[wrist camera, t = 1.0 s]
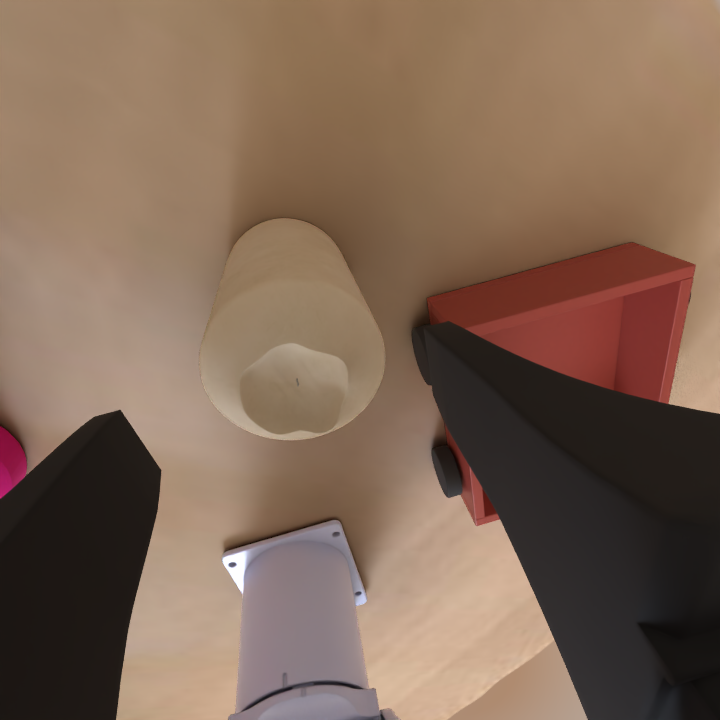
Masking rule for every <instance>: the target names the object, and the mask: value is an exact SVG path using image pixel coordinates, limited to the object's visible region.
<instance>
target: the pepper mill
mask: <svg viewBox="0 0 720 720" xmlns="http://www.w3.org/2000/svg"><path fill="white" fill-rule="evenodd" d="M26 469H27V462H26V457H25V453H24V451H23V449H22V448H21V446H20V444H19V442H18V441H17V440H16V439H15V438H14V437H13V436H12V435H11V434H10V433H9V432H8V431H7V430H6V429H4V428H3V427H1V426H0V499H1V498H2V497H3V496H4V495H5V494H6V493H8V492H9V491H10V490H11V489H12V488H13V487H14V486H16V485H17V484H18V483H19V482H20V481H21V480H22V479H23V478H24V477H25V475H26Z"/></svg>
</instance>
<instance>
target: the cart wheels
mask: <svg viewBox="0 0 720 720" xmlns="http://www.w3.org/2000/svg"><path fill="white" fill-rule="evenodd" d="M690 297H691V293H690ZM689 302H690V298H689ZM688 304H689V303H688ZM428 326H431V324H427V325H423V326H420V327H416V328H413V330H412V342H413V348H414V352H415V356H416V360H417V363H418V366H419V369H420V372H421V374H422V376H423V378H424V380H425V382H426V383H427V384H428V385H432V384H431V377H430V370H429V363H428V356H427V349H426V342H425V335H424V327H428ZM432 459H433V464H434V468H435V471H436V474H437V477H438V480H439V483H440V485H441V488H442V490H443V492H444V494H445V495H446V497H448V498H450V497H453V496H457V495H460V494H462V491H463V488H462V481H461V477H460V473H459V470H458V467H457V464H456V462H455V459H454V457H453V455H452V453H451V451H450V449H449V448H448V447H447V446H446V445H443V446H440V447H436V448H433V449H432Z"/></svg>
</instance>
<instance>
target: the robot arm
mask: <svg viewBox="0 0 720 720" xmlns="http://www.w3.org/2000/svg"><path fill="white" fill-rule="evenodd" d="M424 335H425V342H426V349H427V356H428V363H429V370H430V377H431V384H432V391H433V396H434V398H435V401H436V403H437V406H438V408H439V410H440V413H441V415H442V417H443V420H444V422H445V424H446V426H447V429H448V431H449V432H450V434H451V436H452V437H453V439H454V441H455V443H456V444H457V446H458V448H459V449H460V451H461V453H462V455H463V456H464V458H465V460H466V461H467V463H468V465H469V466H470V468H471V470H472V471H473V473H474V475H475V476H476V478H477V480H478V481H479V483H480V485H481V486H482V488H483V490H484V491H485V493H486V495H487V497H488V498H489V500H490V502H491V503H492V505H493V507H494V509H495V511H496V512H497V514H498V516H499V518H500V520H501V522H502V524H503V526H504V528H505V530H506V532H507V535H508V537H509V539H510V541H511V543H512V545H513V547H514V550H515V552H516V554H517V556H518V558H519V560H520V562H521V565H522V567H523V569H524V571H525V574H526V576H527V578H528V580H529V583H530V585H531V587H532V589H533V591H534V594H535V596H536V598H537V600H538V603H539V605H540V607H541V609H542V612H543V614H544V616H545V619H546V621H547V623H548V626H549V628H550V630H551V633H552V635H553V637H554V639H555V642H556V644H557V646H558V649H559V651H560V653H561V656H562V658H563V660H564V662H565V665H566V668H567V670H568V672H569V675H570V677H571V680H572V682H573V685H574V687H575V689H576V692H577V694H578V697H579V699H580V701H581V704H582V706H583V709H584V711H585V714H586V716H587V718H588V720H720V414H717V413H711V412H706V411H700V410H695V409H690V408H685V407H680V406H675V405H670V404H666V403H662V402H658V401H654V400H650V399H645V398H641V397H637V396H633V395H629V394H625V393H622V392H618V391H614V390H611V389H607V388H604V387H601V386H598V385H595V384H592V383H589V382H585V381H582V380H579V379H576V378H573V377H570V376H567V375H565V374H562V373H559V372H557V371H554V370H552V369H549V368H547V367H544V366H542V365H539V364H537V363H534V362H532V361H530V360H527V359H525V358H523V357H521V356H518V355H516V354H514V353H512V352H510V351H508V350H505V349H503V348H501V347H499V346H497V345H495V344H493V343H491V342H489V341H487V340H485V339H483V338H481V337H479V336H478V335H476V334H474V333H472V332H470V331H468V330H466V329H464V328H462V327H460V326H458V325H456V324H454V323H452V322H450V321H446V322H442V323H439V324H435V325H431V326H428V327H424ZM160 481H161V469H160V468H159V466H158V465H157V463H156V462H155V460H154V459H153V457H152V456H151V454H150V453H149V451H148V450H147V449H146V447H145V446H144V444H143V443H142V441H141V440H140V438H139V437H138V435H137V434H136V432H135V431H134V429H133V428H132V426H131V425H130V423H129V422H128V420H127V419H126V417H125V416H124V414H123V413H122V411H121V410H118V411H114V412H110V413H107V414H103V415H99V416H96V417H93V418H92V419H91V420H89V421H88V422H87V423H85V424H84V425H83V426H81V427H80V428H79V429H78V430H77V431H75V432H74V433H73V434H72V435H71V436H70V437H68V438H67V439H66V440H65V441H64V442H63V443H62V444H61V445H59V446H58V447H57V448H56V449H55V450H54V451H53V452H52V453H51V454H50V455H48V456H47V457H46V458H45V459H44V460H43V461H42V462H41V463H40V464H39V465H37V466H36V467H35V468H34V469H33V470H32V471H31V472H30V473H29V474H28V475H26V476H25V477H24V478H23V479H22V480H21V481H20V482H19V483H18V484H17V485H16V486H14V487H13V488H12V489H11V490H10V491H9V492H8V493H6V494H5V495H4V496H3V497H2V498H1V499H0V720H116V715H117V707H118V698H119V690H120V681H121V674H122V667H123V661H124V654H125V647H126V640H127V634H128V628H129V623H130V619H131V614H132V609H133V605H134V601H135V597H136V593H137V590H138V586H139V582H140V578H141V574H142V570H143V566H144V562H145V559H146V555H147V551H148V547H149V543H150V539H151V535H152V531H153V527H154V523H155V519H156V514H157V510H158V502H159V493H160ZM222 562H223V564H224V565H225V567H226V569H227V570H228V572H229V573H230V575H231V577H232V578H233V580H234V581H235V583H236V585H237V586H238V588H239V589H240V591H241V593H242V594H243V598H242V614H241V630H240V647H239V663H238V679H237V695H236V711H235V714H231V715H230V716H229V717H228V720H401V719H399V718H398V717H397V716H396V715H395V713H394V712H393V710H392V709H390V708H387V709H383V710H380V711H379V705H378V700H377V694H376V689H374V688H372V689H369V684H368V678H367V672H366V666H365V660H364V654H363V648H362V642H361V636H360V630H359V624H358V619H357V613H356V607H355V606H358V605H361V604H364V603H365V602H366V601H367V595H366V592H365V589H364V586H363V584H362V581H361V578H360V575H359V573H358V570H357V567H356V564H355V561H354V559H353V556H352V553H351V550H350V547H349V545H348V542H347V539H346V536H345V533H344V531H343V528H342V525H341V523H340V521H338V520H331V521H328V522H324V523H321V524H318V525H314V526H311V527H307V528H304V529H300V530H297V531H294V532H290V533H287V534H283V535H280V536H277V537H273V538H270V539H266V540H263V541H259V542H256V543H253V544H249V545H246V546H242V547H239V548H236V549H232V550H229V551H226V552H224V553H223V555H222Z"/></svg>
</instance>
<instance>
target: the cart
mask: <svg viewBox="0 0 720 720" xmlns="http://www.w3.org/2000/svg"><path fill="white" fill-rule="evenodd" d="M695 267H696V265H695V264H692V263H689V262H687V261H684V260H681V259H678V258H675V257H672V256H670V255H667V254H664V253H661V252H658V251H656V250H653V249H650V248H647V247H644V246H641V245H639V244H636V243H633V242H631V243H627V244H624V245H620V246H616V247H613V248H609V249H605V250H602V251H598V252H594V253H591V254H587V255H583V256H580V257H576V258H572V259H569V260H565V261H561V262H558V263H554V264H550V265H547V266H543V267H539V268H536V269H532V270H528V271H525V272H521V273H517V274H514V275H510V276H506V277H503V278H499V279H495V280H491V281H488V282H484V283H480V284H477V285H473V286H469V287H466V288H462V289H458V290H455V291H451V292H447V293H444V294H440V295H436V296H433V297H429V298H427V304H428V311H429V318H430V324H431V325H435V324H439V323H442V322H446V321H450V322H452V323H454V324H456V325H458V326H460V327H462V328H464V329H466V330H468V331H470V332H472V333H474V334H476V335H478V336H479V337H481V338H483V339H485V340H487V341H489V342H491V343H493V344H495V345H497V346H499V347H501V348H503V349H505V350H508V351H510V352H512V353H514V354H516V355H518V356H521V357H523V358H525V359H527V360H530V361H532V362H534V363H537V364H539V365H542V366H544V367H547V368H549V369H552V370H554V371H557V372H559V373H562V374H565V375H567V376H570V377H573V378H576V379H579V380H582V381H585V382H589V383H592V384H595V385H598V386H601V387H604V388H607V389H611V390H614V391H618V392H622V393H625V394H629V395H633V396H637V397H641V398H645V399H650V400H654V401H658V402H662V403H666V404H668V402H669V397H670V393H671V388H672V383H673V378H674V373H675V368H676V363H677V358H678V353H679V348H680V343H681V338H682V333H683V328H684V323H685V318H686V313H687V308H688V303H689V298H690V293H691V288H692V283H693V276H694V272H695ZM444 423H445V422H444ZM445 431H446V438H447V445H448V448H449V449H450V451H451V453H452V455H453V457H454V459H455V462H456V464H457V467H458V470H459V473H460V477H461V481H462V488H463V491H462V494H460V495H461V497H462V499H463V501H464V503H465V505H466V507H467V509H468V511H469V513H470V515H471V517H472V519H473V521H474V523H475V525H476V526H479V525H482V524H485V523H489V522H492V521H496V520H499V519H500V518H499V516H498V514H497V512H496V511H495V509H494V507H493V505H492V503H491V502H490V500H489V498H488V497H487V495H486V493H485V491H484V490H483V488H482V486H481V485H480V483H479V481H478V480H477V478H476V476H475V475H474V473H473V471H472V470H471V468H470V466H469V465H468V463H467V461H466V460H465V458H464V456H463V455H462V453H461V451H460V449H459V448H458V446H457V444H456V443H455V441H454V439H453V437H452V436H451V434H450V432H449V431H448V429H447V426H446V424H445Z"/></svg>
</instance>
